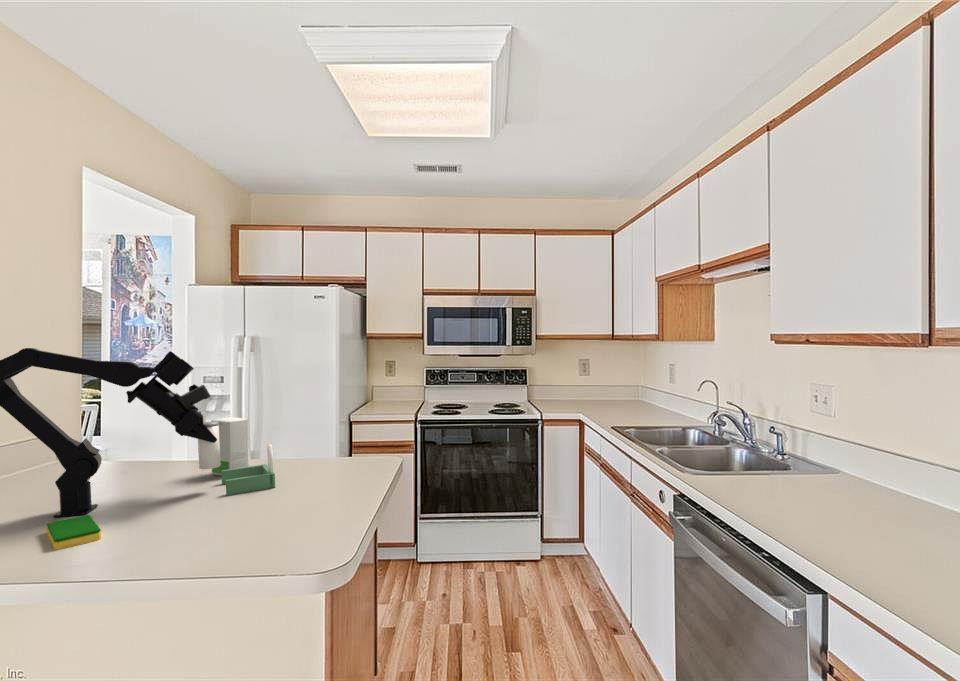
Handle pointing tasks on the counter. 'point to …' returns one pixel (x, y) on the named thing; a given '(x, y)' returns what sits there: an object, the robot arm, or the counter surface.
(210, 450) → the ball tube
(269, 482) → the green u-shaped bracket
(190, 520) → the counter surface
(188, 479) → the counter surface
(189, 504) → the counter surface
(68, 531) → the dish sponge
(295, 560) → the counter surface
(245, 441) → the skincare box
